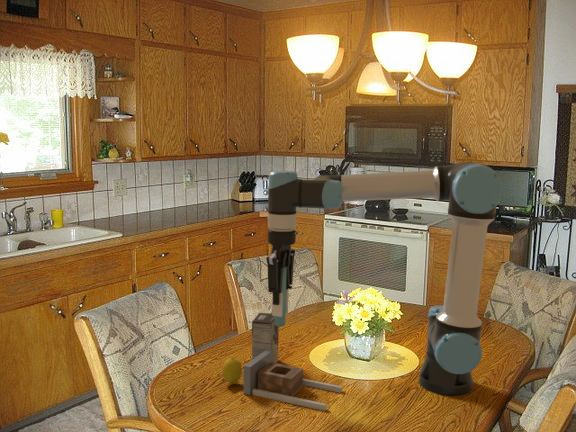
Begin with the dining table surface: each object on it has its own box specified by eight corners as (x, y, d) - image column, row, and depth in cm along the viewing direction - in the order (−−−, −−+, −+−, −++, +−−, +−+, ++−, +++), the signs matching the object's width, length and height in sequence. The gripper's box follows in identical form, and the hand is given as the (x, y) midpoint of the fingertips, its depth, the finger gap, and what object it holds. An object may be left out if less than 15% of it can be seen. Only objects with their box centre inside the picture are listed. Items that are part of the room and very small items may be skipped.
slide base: (346, 394, 169) (347, 363, 168) (326, 417, 155) (327, 383, 154) (265, 377, 179) (266, 348, 178) (240, 397, 166) (241, 366, 164)
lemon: (233, 390, 170) (234, 362, 169) (218, 385, 173) (218, 358, 172) (245, 383, 175) (245, 356, 174) (230, 378, 178) (230, 352, 177)
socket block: (302, 387, 170) (303, 368, 170) (290, 398, 163) (291, 379, 162) (270, 380, 175) (270, 362, 174) (257, 391, 167) (257, 372, 167)
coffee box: (258, 361, 192) (259, 311, 189) (278, 363, 190) (279, 313, 188) (251, 372, 183) (251, 321, 180) (271, 374, 181) (272, 322, 179)
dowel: (287, 323, 167) (288, 266, 165) (282, 326, 165) (283, 269, 162) (277, 322, 169) (278, 265, 166) (272, 325, 166) (273, 267, 164)
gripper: (282, 223, 171) (280, 304, 175) (255, 232, 157) (254, 320, 160) (306, 226, 168) (304, 308, 172) (281, 234, 154) (279, 324, 157)
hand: (280, 313), depth 166 cm, fingers closed on dowel, 3 cm apart
